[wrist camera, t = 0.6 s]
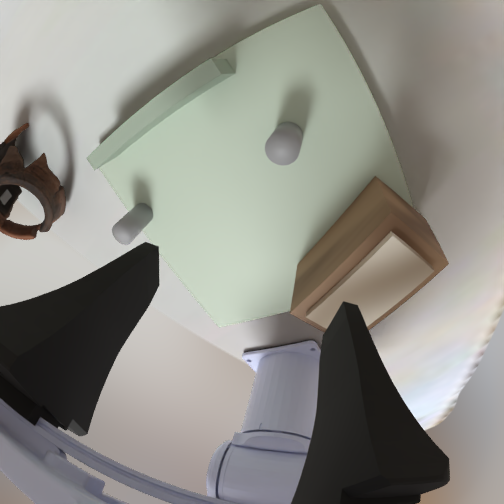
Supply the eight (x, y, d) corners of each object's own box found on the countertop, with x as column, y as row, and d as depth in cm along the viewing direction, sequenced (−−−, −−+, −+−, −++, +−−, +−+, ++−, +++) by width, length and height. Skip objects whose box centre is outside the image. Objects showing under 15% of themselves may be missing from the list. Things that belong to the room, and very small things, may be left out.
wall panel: (424, 259, 19) (438, 299, 16) (222, 317, 27) (208, 353, 23) (320, 8, 11) (320, -11, 8) (100, 149, 19) (63, 170, 16)
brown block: (425, 219, 16) (451, 268, 12) (346, 295, 21) (347, 350, 17) (375, 175, 15) (393, 216, 11) (297, 264, 20) (288, 318, 16)
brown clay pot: (41, 95, 18) (2, 146, 13) (100, 160, 25) (85, 221, 21) (-20, 166, 20) (-51, 223, 15) (33, 213, 27) (15, 271, 23)
